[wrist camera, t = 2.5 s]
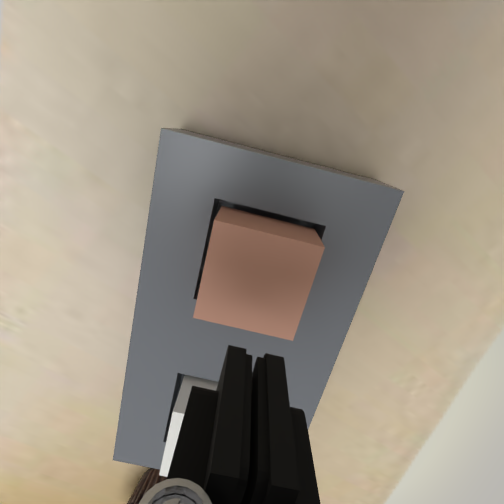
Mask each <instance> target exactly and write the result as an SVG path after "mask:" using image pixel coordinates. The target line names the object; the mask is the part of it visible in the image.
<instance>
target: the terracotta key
mask: <svg viewBox="0 0 504 504" xmlns="http://www.w3.org/2000/svg"><path fill="white" fill-rule="evenodd" d="M324 249H325V247H324V245H323V243H322V241H321V239H320V237H319V236H318V234H317V232H316V230H315V229H313V228H309V227H305V226H301V225H297V224H293V223H289V222H285V221H281V220H277V219H273V218H269V217H265V216H261V215H257V214H253V213H249V212H245V211H241V210H237V209H233V208H229V207H225V206H222V207H221V208H220V210H219V212H218V214H217V216H216V217H215V219H214V223H213V227H212V232H211V237H210V241H209V246H208V250H207V255H206V260H205V264H204V269H203V274H202V278H201V283H200V288H199V292H198V297H197V301H196V306H195V311H194V315H193V318H196V319H200V320H205V321H209V322H213V323H218V324H222V325H226V326H231V327H235V328H239V329H244V330H248V331H252V332H257V333H261V334H265V335H270V336H274V337H278V338H283V339H287V340H291V341H293V339H294V336H295V333H296V330H297V328H298V325H299V322H300V319H301V316H302V313H303V310H304V307H305V304H306V301H307V298H308V295H309V292H310V290H311V287H312V284H313V281H314V278H315V275H316V272H317V269H318V266H319V263H320V260H321V257H322V254H323V252H324Z"/></svg>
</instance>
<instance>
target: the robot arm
mask: <svg viewBox="0 0 504 504" xmlns="http://www.w3.org/2000/svg"><path fill="white" fill-rule="evenodd" d="M246 352H247V351H246V349H245V348H241V347H236V346H232V345H228V348H227V351H226V355H225V359H224V363H223V367H222V370H221V374H220V378H219V382H218V386H217V389H216V391H215V390H210V389H206V388H201V387H197V386H192V388H191V392H190V395H189V399H188V403H187V406H186V410H185V414H184V417H183V421H182V425H181V428H180V432H179V436H178V439H177V443H176V447H175V450H174V454H173V458H172V461H171V465H170V469H169V472H168V476H167V479H166V480H164V481H162V482H160V483H157V484H155V485H154V486H153V487H152V488H151V489H149V490H148V491H147V492H146V494H145V495H144V496H143V498H142V499H141V501H140V502H139V504H320V499H319V493H318V487H317V481H316V476H315V470H314V464H313V458H312V452H311V446H310V440H309V435H308V429H307V423H306V417H305V413H304V411H303V410H302V409H298V408H294V407H290V403H289V395H288V386H287V378H286V369H285V361H284V357H281V356H276V355H272V354H267V353H265V355H264V357H263V358H262V357H257V359H256V362H255V365H254V369H253V372H252V359H253V357H252V355H249V354H246Z"/></svg>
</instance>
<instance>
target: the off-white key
mask: <svg viewBox="0 0 504 504" xmlns="http://www.w3.org/2000/svg"><path fill="white" fill-rule="evenodd" d="M192 386H197V387H201V388H206V389H210V390H215V391H216V389H217V386H218V382H217V381H212V380H208V379H203V378H199V377H194V376H189V375H184V378H183V381H182V384H181V388H180V391H179V394H178V397H177V400H176V403H175V406H174V409H173V413H172V418H171V422H170V427H169V431H168V436H167V441H166V445H165V450H164V455H163V459H162V464H161V469H160V473H159V475H160V476H165V477H167V476H168V472H169V469H170V465H171V461H172V458H173V454H174V450H175V447H176V443H177V439H178V436H179V432H180V428H181V425H182V421H183V417H184V414H185V410H186V406H187V403H188V399H189V395H190V392H191V388H192Z"/></svg>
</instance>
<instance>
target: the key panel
mask: <svg viewBox="0 0 504 504" xmlns="http://www.w3.org/2000/svg"><path fill="white" fill-rule="evenodd" d="M403 193H404V191H402V190H400V189H397V188H395V187H392V186H390V185H387V184H385V183H383V182H380V181H378V180H374V179H370V178H367V177H363V176H359V175H355V174H351V173H347V172H344V171H340V170H336V169H332V168H328V167H324V166H321V165H317V164H313V163H309V162H305V161H302V160H298V159H294V158H290V157H286V156H282V155H279V154H275V153H271V152H267V151H263V150H259V149H256V148H252V147H248V146H244V145H240V144H236V143H233V142H229V141H225V140H221V139H217V138H214V137H210V136H206V135H202V134H198V133H194V132H191V131H187V130H183V129H171V128H161V133H160V140H159V147H158V154H157V161H156V167H155V174H154V181H153V188H152V195H151V202H150V209H149V216H148V222H147V229H146V236H145V243H144V250H143V257H142V264H141V270H140V277H139V284H138V291H137V298H136V305H135V312H134V319H133V325H132V332H131V339H130V346H129V353H128V360H127V367H126V373H125V380H124V387H123V394H122V401H121V408H120V415H119V422H118V428H117V435H116V442H115V449H114V456H113V460H115V461H120V462H125V463H130V464H135V465H140V466H145V467H150V468H154V469H159V470H160V469H161V464H162V459H163V455H164V450H165V445H166V441H167V436H168V431H169V427H170V422H171V418H172V413H173V409H174V406H175V403H176V400H177V397H178V394H179V391H180V388H181V384H182V381H183V378H184V375H189V376H194V377H199V378H203V379H208V380H212V381H217V382H219V378H220V374H221V370H222V367H223V363H224V359H225V355H226V351H227V348H228V345H232V346H236V347H241V348H245V349H246V351H247V352H246V354H249V355H252V357H253V359H252V372H253V369H254V365H255V362H256V359H257V357H262V358H263V357H264V355H265V353H267V354H272V355H276V356H281V357H284V361H285V369H286V378H287V386H288V395H289V403H290V407H294V408H298V409H302V410H303V411H304V413H305V417H306V423H307V429H308V428H309V426H310V423H311V421H312V418H313V416H314V413H315V411H316V408H317V406H318V403H319V401H320V399H321V396H322V394H323V391H324V389H325V386H326V384H327V381H328V379H329V376H330V374H331V371H332V369H333V366H334V364H335V361H336V359H337V356H338V354H339V351H340V349H341V347H342V344H343V342H344V339H345V337H346V334H347V332H348V329H349V327H350V324H351V322H352V319H353V317H354V314H355V312H356V309H357V307H358V304H359V302H360V299H361V297H362V294H363V292H364V290H365V287H366V285H367V282H368V280H369V277H370V275H371V272H372V270H373V267H374V265H375V262H376V260H377V257H378V255H379V252H380V250H381V247H382V245H383V242H384V240H385V238H386V235H387V233H388V230H389V228H390V225H391V223H392V220H393V218H394V215H395V213H396V210H397V208H398V205H399V203H400V200H401V198H402V195H403ZM222 206H225V207H229V208H233V209H237V210H241V211H245V212H249V213H253V214H257V215H261V216H265V217H269V218H273V219H277V220H281V221H285V222H289V223H293V224H297V225H301V226H305V227H309V228H313V229H315V230H316V232H317V234H318V236H319V237H320V239H321V241H322V243H323V245H324V247H325V249H324V252H323V254H322V257H321V260H320V263H319V266H318V269H317V272H316V275H315V278H314V281H313V284H312V287H311V290H310V292H309V295H308V298H307V301H306V304H305V307H304V310H303V313H302V316H301V319H300V322H299V325H298V328H297V330H296V333H295V336H294V339H293V341H291V340H287V339H283V338H278V337H274V336H270V335H265V334H261V333H257V332H252V331H248V330H244V329H239V328H235V327H231V326H226V325H222V324H218V323H213V322H209V321H205V320H200V319H196V318H193V315H194V311H195V306H196V301H197V297H198V292H199V288H200V283H201V278H202V274H203V269H204V264H205V260H206V255H207V250H208V246H209V241H210V237H211V232H212V227H213V223H214V219H215V217H216V216H217V214H218V212H219V210H220V208H221V207H222Z"/></svg>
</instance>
